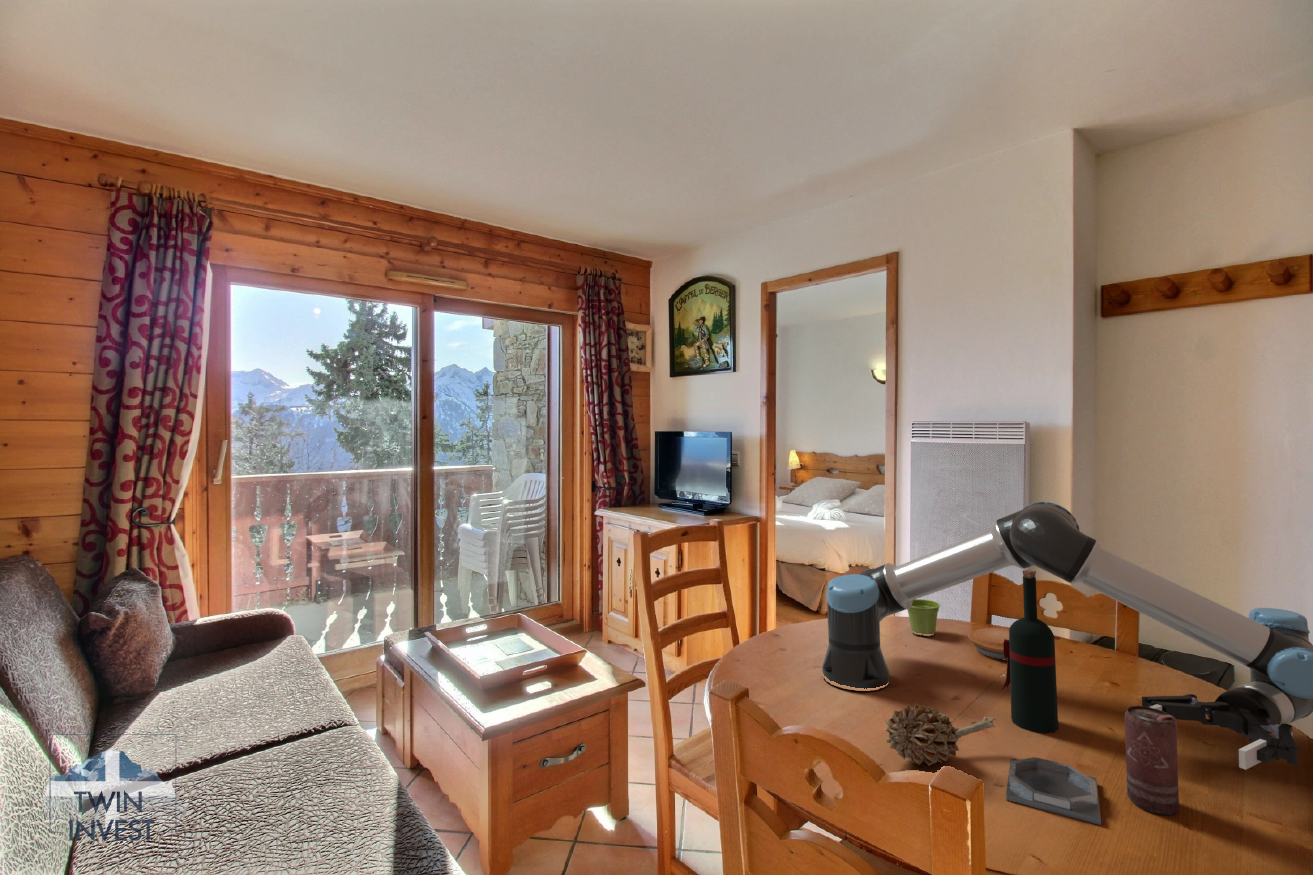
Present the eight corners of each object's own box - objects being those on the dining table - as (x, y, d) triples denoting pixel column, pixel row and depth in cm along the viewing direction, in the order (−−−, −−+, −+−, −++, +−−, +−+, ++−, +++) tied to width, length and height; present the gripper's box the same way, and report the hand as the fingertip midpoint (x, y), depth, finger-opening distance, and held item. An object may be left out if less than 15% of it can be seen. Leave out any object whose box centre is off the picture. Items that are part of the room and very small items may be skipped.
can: (1191, 818, 88) (1187, 723, 88) (1141, 814, 90) (1138, 721, 89) (1165, 793, 94) (1162, 705, 94) (1119, 790, 96) (1116, 703, 95)
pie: (981, 638, 165) (980, 620, 165) (1046, 652, 154) (1045, 632, 154) (959, 654, 155) (958, 634, 155) (1027, 669, 143) (1026, 649, 143)
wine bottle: (1018, 706, 125) (1013, 562, 125) (1067, 727, 116) (1062, 572, 116) (991, 714, 122) (986, 567, 122) (1040, 736, 113) (1034, 577, 113)
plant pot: (899, 629, 175) (898, 599, 175) (930, 627, 175) (929, 597, 175) (915, 640, 165) (914, 609, 165) (948, 638, 166) (947, 606, 166)
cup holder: (1006, 800, 94) (1005, 786, 94) (1011, 763, 104) (1010, 750, 104) (1101, 825, 87) (1100, 810, 87) (1096, 783, 97) (1096, 770, 97)
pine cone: (911, 785, 99) (909, 725, 99) (873, 756, 108) (871, 701, 108) (1012, 758, 106) (1010, 702, 106) (968, 733, 115) (966, 681, 115)
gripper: (1359, 765, 93) (1295, 805, 84) (1168, 702, 116) (1102, 728, 107) (1358, 717, 93) (1293, 752, 84) (1167, 664, 116) (1101, 686, 107)
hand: (1186, 739), depth 96 cm, fingers open, 13 cm apart
